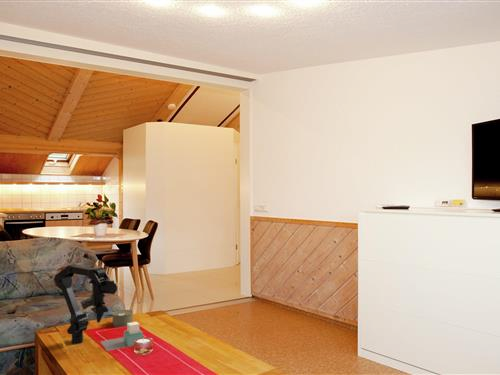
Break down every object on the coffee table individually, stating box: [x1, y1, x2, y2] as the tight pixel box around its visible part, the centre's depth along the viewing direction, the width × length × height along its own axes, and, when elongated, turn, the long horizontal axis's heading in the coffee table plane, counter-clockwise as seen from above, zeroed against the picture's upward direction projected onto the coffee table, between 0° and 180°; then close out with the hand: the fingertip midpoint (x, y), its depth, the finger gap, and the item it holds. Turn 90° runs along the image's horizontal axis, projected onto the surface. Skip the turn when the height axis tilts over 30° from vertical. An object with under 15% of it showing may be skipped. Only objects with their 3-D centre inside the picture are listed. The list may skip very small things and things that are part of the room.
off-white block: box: [126, 321, 140, 334], centre depth 233 cm, size 5×5×5 cm
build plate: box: [100, 328, 144, 352], centre depth 233 cm, size 16×19×7 cm
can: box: [111, 309, 134, 328], centre depth 269 cm, size 12×12×7 cm
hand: (98, 322), depth 230 cm, fingers closed
